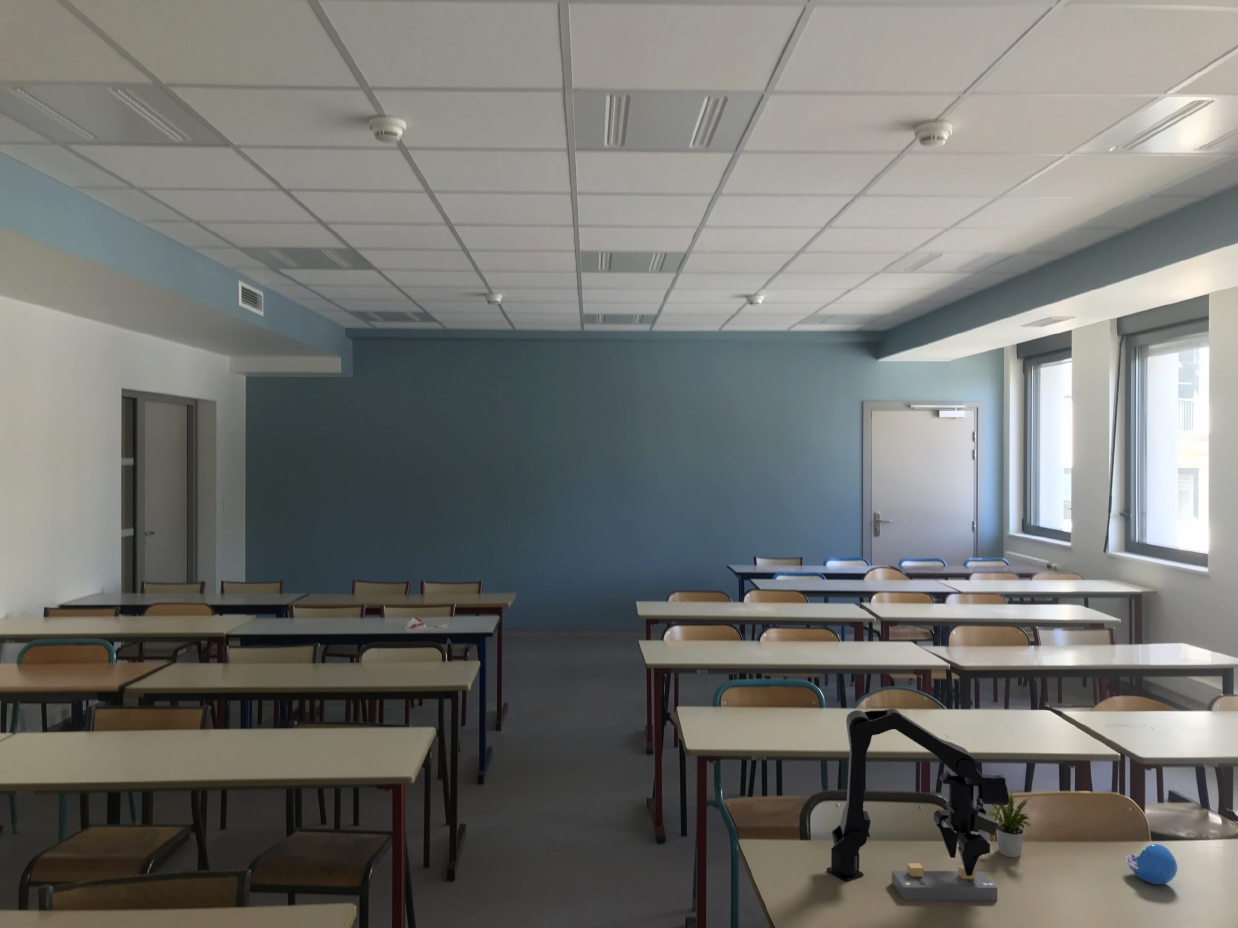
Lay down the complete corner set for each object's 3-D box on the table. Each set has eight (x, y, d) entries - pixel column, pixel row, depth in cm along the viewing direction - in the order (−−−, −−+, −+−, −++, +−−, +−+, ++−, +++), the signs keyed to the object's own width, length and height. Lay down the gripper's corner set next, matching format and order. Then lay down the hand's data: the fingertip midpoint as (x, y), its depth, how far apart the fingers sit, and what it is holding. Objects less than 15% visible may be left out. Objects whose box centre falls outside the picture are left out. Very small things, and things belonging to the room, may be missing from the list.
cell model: (1148, 867, 206) (1148, 830, 206) (1188, 891, 194) (1188, 851, 194) (1113, 870, 205) (1113, 831, 205) (1151, 893, 193) (1151, 853, 193)
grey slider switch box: (903, 900, 188) (903, 886, 188) (891, 883, 196) (891, 870, 196) (997, 900, 189) (997, 886, 189) (981, 883, 197) (981, 870, 197)
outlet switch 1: (911, 876, 193) (911, 867, 193) (907, 871, 196) (907, 863, 196) (923, 876, 193) (923, 867, 193) (919, 871, 196) (919, 863, 196)
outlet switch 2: (962, 878, 192) (962, 870, 192) (958, 873, 195) (958, 865, 195) (975, 878, 192) (975, 870, 192) (970, 873, 195) (970, 865, 195)
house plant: (973, 856, 211) (973, 793, 211) (976, 836, 223) (977, 777, 224) (1034, 869, 204) (1034, 804, 205) (1034, 848, 217) (1035, 786, 217)
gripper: (1012, 817, 188) (1012, 885, 188) (976, 787, 207) (976, 849, 206) (965, 817, 188) (964, 884, 188) (933, 786, 207) (932, 848, 206)
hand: (960, 866), depth 197 cm, fingers open, 9 cm apart
